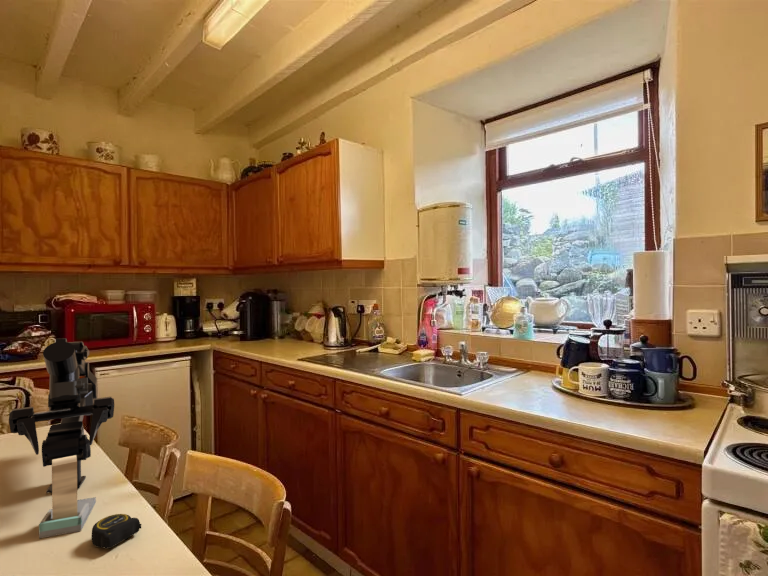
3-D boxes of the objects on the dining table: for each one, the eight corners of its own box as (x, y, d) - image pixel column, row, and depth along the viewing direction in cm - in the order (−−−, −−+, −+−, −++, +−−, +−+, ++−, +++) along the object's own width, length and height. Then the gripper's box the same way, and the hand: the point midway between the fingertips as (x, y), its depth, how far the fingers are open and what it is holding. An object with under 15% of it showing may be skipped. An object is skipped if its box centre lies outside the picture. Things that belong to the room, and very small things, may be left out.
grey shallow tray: (58, 508, 95) (58, 495, 95) (95, 502, 97) (95, 490, 97) (39, 538, 84) (39, 524, 84) (81, 530, 86) (81, 517, 86)
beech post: (52, 518, 88) (52, 459, 88) (76, 512, 91) (76, 455, 91) (52, 527, 85) (52, 466, 85) (77, 520, 88) (77, 461, 88)
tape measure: (106, 556, 79) (106, 535, 79) (83, 546, 81) (83, 526, 81) (141, 536, 85) (141, 516, 85) (118, 527, 88) (118, 509, 88)
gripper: (9, 371, 92) (3, 439, 83) (113, 362, 103) (118, 421, 94) (13, 400, 98) (8, 466, 89) (111, 389, 109) (115, 446, 100)
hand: (64, 448), depth 93 cm, fingers open, 9 cm apart
